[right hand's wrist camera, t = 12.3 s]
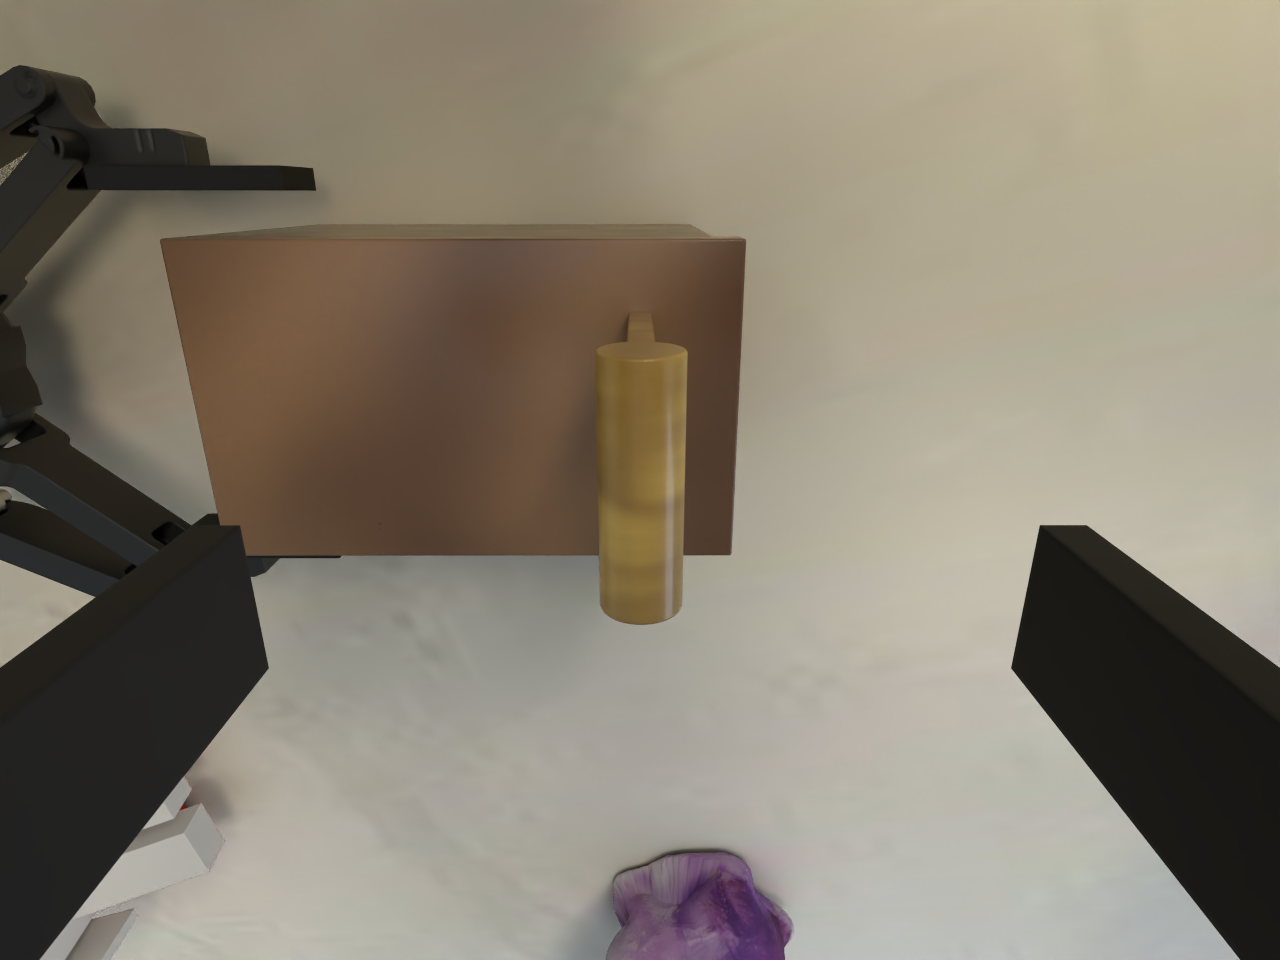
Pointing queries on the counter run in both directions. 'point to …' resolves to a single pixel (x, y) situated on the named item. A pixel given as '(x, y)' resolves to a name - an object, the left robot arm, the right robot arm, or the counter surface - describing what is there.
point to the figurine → (696, 912)
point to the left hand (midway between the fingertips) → (328, 371)
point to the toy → (142, 876)
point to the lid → (471, 397)
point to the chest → (473, 231)
